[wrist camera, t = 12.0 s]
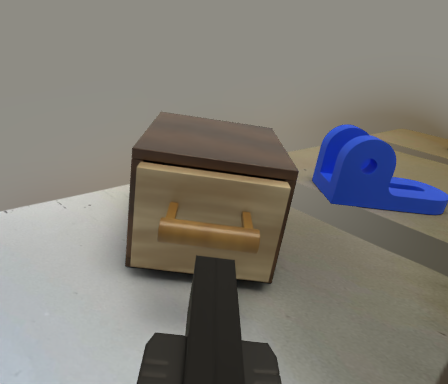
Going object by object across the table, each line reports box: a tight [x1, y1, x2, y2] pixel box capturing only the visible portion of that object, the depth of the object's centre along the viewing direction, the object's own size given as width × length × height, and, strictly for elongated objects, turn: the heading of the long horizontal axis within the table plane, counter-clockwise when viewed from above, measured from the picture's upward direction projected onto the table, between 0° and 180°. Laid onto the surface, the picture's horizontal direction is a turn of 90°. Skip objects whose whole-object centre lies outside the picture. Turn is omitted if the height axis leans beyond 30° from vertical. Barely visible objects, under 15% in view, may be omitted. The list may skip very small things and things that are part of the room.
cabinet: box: [125, 112, 299, 283], centre depth 33 cm, size 14×12×10 cm
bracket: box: [312, 125, 448, 215], centre depth 50 cm, size 18×8×9 cm, turn 94°
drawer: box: [130, 161, 291, 282], centre depth 30 cm, size 17×10×8 cm, turn 0°
